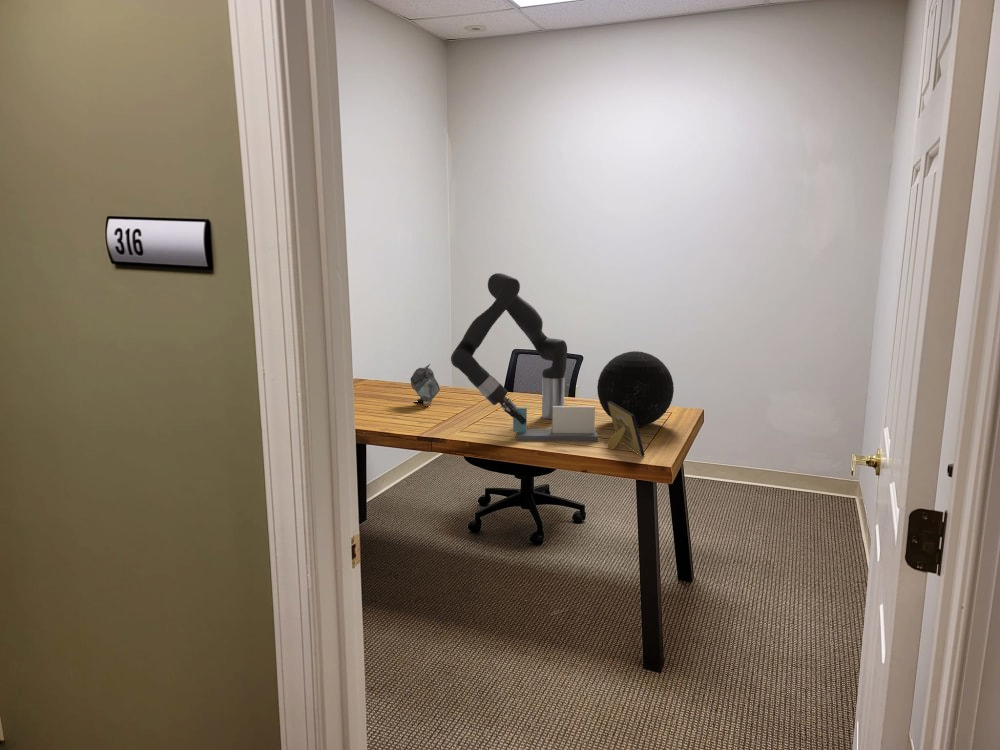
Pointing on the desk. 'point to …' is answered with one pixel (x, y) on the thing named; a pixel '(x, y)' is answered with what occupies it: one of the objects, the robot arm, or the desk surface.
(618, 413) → the picture frame
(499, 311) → the robot arm
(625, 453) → the desk surface
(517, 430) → the stub
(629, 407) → the fuzzy black sphere
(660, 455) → the desk surface
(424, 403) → the grey bird figurine
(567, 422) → the sliding block rail
